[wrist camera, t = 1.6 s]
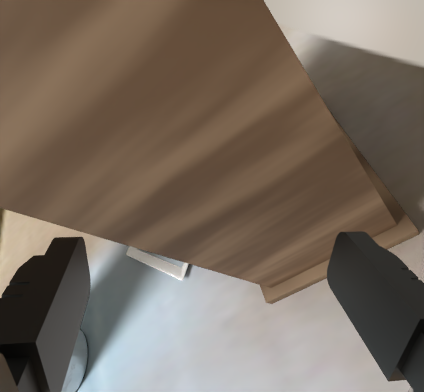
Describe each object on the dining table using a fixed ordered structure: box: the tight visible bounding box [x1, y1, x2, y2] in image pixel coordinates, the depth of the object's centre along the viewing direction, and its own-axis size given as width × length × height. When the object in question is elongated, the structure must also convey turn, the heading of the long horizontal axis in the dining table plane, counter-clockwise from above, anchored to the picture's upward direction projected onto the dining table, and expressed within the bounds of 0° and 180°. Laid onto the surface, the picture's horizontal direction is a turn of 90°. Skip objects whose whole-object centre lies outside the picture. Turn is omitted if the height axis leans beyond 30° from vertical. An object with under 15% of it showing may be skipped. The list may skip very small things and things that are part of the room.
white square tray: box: [126, 246, 189, 281], centre depth 41 cm, size 12×12×5 cm
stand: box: [0, 0, 419, 304], centre depth 21 cm, size 18×14×32 cm
